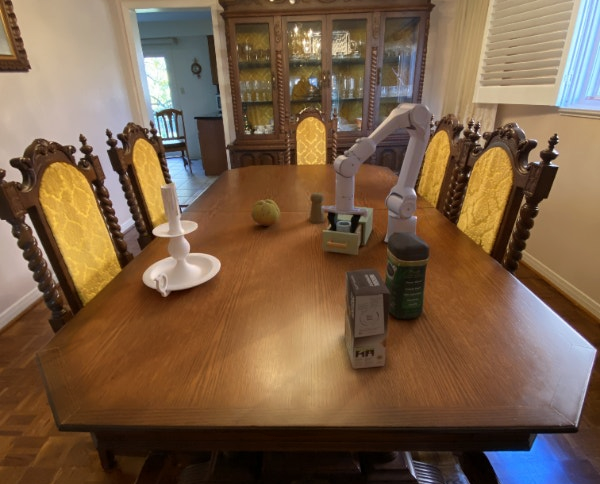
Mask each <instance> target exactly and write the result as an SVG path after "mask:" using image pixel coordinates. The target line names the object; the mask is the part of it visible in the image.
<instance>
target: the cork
mask: <svg viewBox="0 0 600 484" xmlns="http://www.w3.org/2000/svg"><path fill="white" fill-rule="evenodd" d="M324 197H325V196H324V194H323V193H322V192H313V193H311V195H310V197H309V198H310V201H311V206H310V214H309V222H311V223H313V224H314V223H315V224H320V223H324V222H325V221H326V220H325V213H321V208H322V206H324V204H323V201H324V200H325V198H324Z"/></svg>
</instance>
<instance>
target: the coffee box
mask: <svg viewBox="0 0 600 484" xmlns="http://www.w3.org/2000/svg"><path fill="white" fill-rule="evenodd" d="M344 285H345V286H344V287H345V288H344V289H345V291H344V294H345V295H344V337H343V338H344V342H345V345H346V350H347V352H348V356H349V359H350V363H351V367H352V369H366V368H376V367H377V368H378V367H384V366H385V363H386V352H387V340H388V339H387V337H388V327H389V314H390V312H389V302H390V292H389V290H388V288H387V287H386V285H385V281H384V280H383V279H382V277H381V275H380V273H379V271H378V270H377V269H376V268H366V269H364V268H363V269H355V270H346V271H345V284H344Z"/></svg>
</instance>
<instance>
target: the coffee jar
mask: <svg viewBox="0 0 600 484" xmlns="http://www.w3.org/2000/svg"><path fill="white" fill-rule="evenodd" d="M429 260H430V245H429V244H428V243H427V242H426V241H425V240H424V239H423V238H421V237H420V236H418V235H417V234H416V235H415V234H413V233H411V232H410V231H405V232H394V233H393V234H392V235H391V236H390V237H389V239H388V243H387V244H386V270H385V280H384V283H385V285H386V287H387V288H388V290H389V292H390V302H389V314H390V315H392V317H394V318H396V319H402V320H413V319H417V318H419V317H421V316H422V314H423V309H424V298H425V297H424V296H425V283H426V275H427V274H426V273H427V267H428V263H429Z"/></svg>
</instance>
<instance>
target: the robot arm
mask: <svg viewBox="0 0 600 484" xmlns="http://www.w3.org/2000/svg"><path fill="white" fill-rule="evenodd" d="M432 115H433V114H432V112H431V109H430V108H429V106H428V105H426V104H425V103H411V102H409V103H408V102H401V103H400V104H398V105H397V107H395V108H394V109H392V110H391V111H390V113H389V115H388V116H387V117H386V118H385V119H384V120H383V121H382V122H381V123H380V124H379V125H378V126H377V127H376V128H375V130H373V132H372V133H370V135H369V136H368V137H367V136H366V137H365V136H363V137H361V138H357V139H356V140H355V143H354V144H353V145H352V146H351V147H350V148H349V149H348V150H344V152H343V154H341V155H338V156H337V157H336V158H335V159H334V162H333V163H332V169H333V171H334V172H335V191H334V192H335V195H334V198H335V204H334V205H323V206H322V208H321V213H324V214H327V216H326V219H327V221H328V220H329V222H330V224H331V227H332V230H333V231H336V223H337V220H338V214H339V215H353V216H352V218H351V233H355V230H356V227H357V224H358V222H359V220H360V218H361V216H363V217H366V218H367V216H368V210H366V209H361V208H356V207H357V206H355V180H356V179H355V175H357V174H358V172H359V170H360V166H361V165H362V164H364V163H365V162H366V161H367V160H368V159H369V158H370V157H371V156H372V155H373V154H374V153H375V152H376V149H377V145H378V144H380V143H381V142H382V141H384V139H387V137H388V136H389V135H391V134H392V133H393V132H394V131H396V130H397V129H405V130H406V132H407V133H408V135H409V137H410V138H409V141H408V144H407V149H406V151H405V155H404V158H403V161H402V165H401V169H400V173H399V176H398V179H397V181H396V182H397V183H396V184H395V185H394V186H393V187H391V188H390V192H389V194H388V195H387V197H386V198H385V201H384V205H385V208H387V210H388V211H387V213H388V215H387V227H386V228H387V229H386V235H385V237H384V240H383V242H384V243H387V244H388V239H389V237H390V236H391V235H392V234H393V233H394V232H405V231H410V232H411V233H413V234H415V235H417V221H418V216H415V215H414V214H415V213H416V211H417V199H418V196H417V194H416V191H415V186H416V183H417V180H418V177H419V173H420V170H421V167H422V164H423V159H424V157H425V153H426V150H427V147H428V143H429V139H430V136H431V119H432ZM354 206H355V207H354Z"/></svg>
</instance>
